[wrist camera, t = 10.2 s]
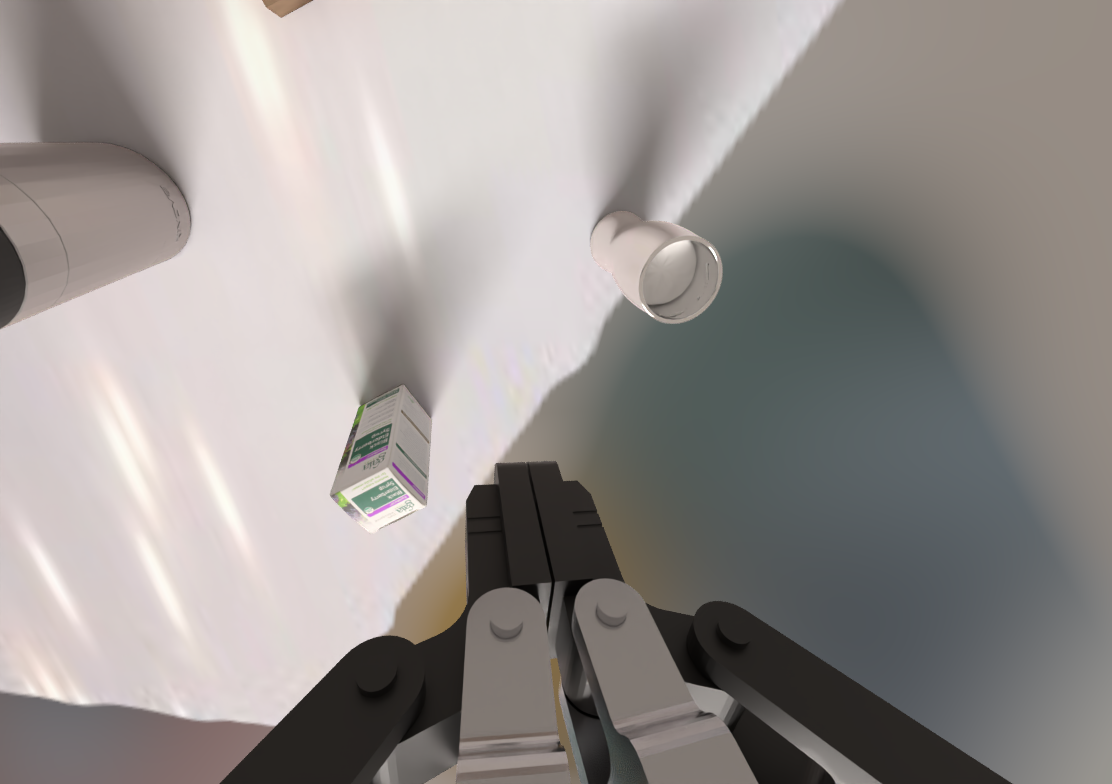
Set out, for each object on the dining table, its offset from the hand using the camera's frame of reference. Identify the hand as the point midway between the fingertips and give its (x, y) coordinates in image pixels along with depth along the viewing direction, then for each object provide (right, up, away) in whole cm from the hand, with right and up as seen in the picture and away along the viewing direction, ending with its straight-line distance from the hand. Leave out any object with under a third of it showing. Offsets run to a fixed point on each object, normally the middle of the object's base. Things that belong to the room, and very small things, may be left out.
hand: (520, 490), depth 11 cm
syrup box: (-17, 0, +40) cm, 43 cm away
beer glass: (+7, +18, +35) cm, 40 cm away
